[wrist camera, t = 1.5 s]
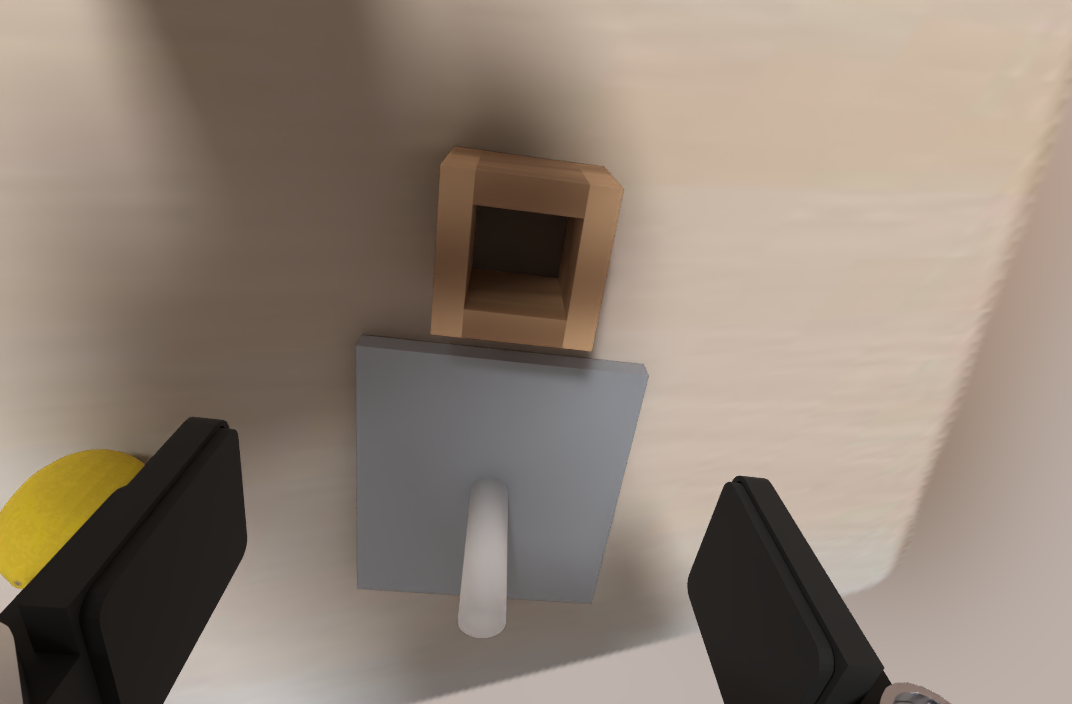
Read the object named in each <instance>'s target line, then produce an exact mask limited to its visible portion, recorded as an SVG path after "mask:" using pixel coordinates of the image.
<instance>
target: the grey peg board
mask: <svg viewBox="0 0 1072 704" xmlns="http://www.w3.org/2000/svg"><path fill="white" fill-rule="evenodd" d="M648 377H649V375H648V373H647V370H646V368H645V366H644V364H636V363H627V362H617V361H608V360H598V359H588V358H579V357H569V356H560V355H550V354H540V353H531V352H521V351H512V350H502V349H492V348H483V347H473V346H464V345H454V344H445V343H435V342H425V341H416V340H406V339H397V338H387V337H377V336H368V335H362V336H361V337H360V339H359V341H358V343H357V344H356V449H357V589H369V590H384V591H400V592H415V593H430V594H446V595H460V602H459V612H458V626H459V628H460V629H461V631H462V632H464V633H465V634H467V635H469V636H471V637H475V638H489V637H492V636H495V635H497V634H499V633H500V632H501V631H502V630H503V629H504V628H505V626H506V603H507V599H523V600H538V601H554V602H569V603H584V604H591V603H592V599H593V595H594V591H595V587H596V583H597V579H598V575H599V571H600V567H601V563H602V559H603V555H604V552H605V548H606V544H607V540H608V536H609V532H610V528H611V524H612V520H613V516H614V512H615V508H616V504H617V500H618V496H619V492H620V488H621V484H622V480H623V476H624V472H625V468H626V464H627V460H628V456H629V453H630V449H631V445H632V441H633V437H634V433H635V429H636V425H637V421H638V417H639V413H640V409H641V405H642V401H643V397H644V393H645V389H646V385H647V381H648Z"/></svg>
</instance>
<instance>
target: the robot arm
mask: <svg viewBox="0 0 1072 704" xmlns="http://www.w3.org/2000/svg"><path fill="white" fill-rule="evenodd" d="M246 545H247V530H246V518H245V507H244V496H243V485H242V473H241V462H240V451H239V439H238V433H237V431H236V430H234V429H229V426H228V424H227V422H226V421H224V420H218V419H208V418H199V417H190V418H188V419H187V420H186V421H185V422H184V423H183V424H182V425H181V426H180V427H179V428H178V429H177V431H176V432H175V433H174V434H173V435H172V436H171V437H170V438H169V439H168V440H167V442H166V443H165V444H164V445H163V446H162V447H161V448H160V449H159V450H158V451H157V453H156V454H155V455H154V456H153V457H152V458H151V459H150V460H149V461H148V462H147V463H146V465H145V466H144V467H143V468H142V469H141V470H140V471H139V472H138V473H137V474H136V476H135V477H134V478H133V479H132V480H131V481H130V482H129V483H128V484H127V485H126V486H123V487H120V488H118V489H117V490H116V491H115V492H113V493H112V494H111V495H110V496H109V497H108V498H107V499H106V500H105V502H104V503H103V504H102V505H101V506H100V507H99V508H98V509H97V510H96V511H95V512H94V513H93V514H92V516H91V517H90V518H89V519H88V520H87V521H86V522H85V523H84V524H83V525H82V526H81V527H80V528H79V530H78V531H77V532H76V533H75V534H74V535H73V536H72V537H71V538H70V539H69V540H68V541H67V542H66V544H65V545H64V546H63V547H62V548H61V549H60V550H59V551H58V552H57V553H56V554H55V555H54V556H53V558H52V559H51V560H50V561H49V562H48V563H47V564H46V565H45V566H44V567H43V568H42V569H41V570H40V572H39V573H38V574H37V575H36V576H35V577H34V578H33V579H32V580H31V581H30V582H29V583H28V584H27V586H26V587H25V588H24V589H23V590H22V591H21V592H20V593H19V594H18V595H17V596H16V597H15V598H14V600H13V601H12V602H11V603H10V604H9V605H8V606H7V607H6V608H5V609H4V610H3V611H2V612H1V614H0V704H163V703H164V701H165V699H166V698H167V696H168V694H169V692H170V690H171V688H172V687H173V685H174V683H175V681H176V679H177V677H178V675H179V674H180V672H181V670H182V668H183V666H184V664H185V663H186V661H187V659H188V657H189V655H190V653H191V652H192V650H193V648H194V646H195V644H196V642H197V641H198V639H199V637H200V635H201V633H202V631H203V630H204V628H205V626H206V624H207V622H208V620H209V619H210V617H211V615H212V613H213V611H214V609H215V608H216V606H217V604H218V602H219V600H220V598H221V596H222V595H223V593H224V591H225V589H226V587H227V585H228V584H229V582H230V580H231V578H232V576H233V574H234V573H235V571H236V569H237V567H238V565H239V563H240V562H241V560H242V558H243V555H244V553H245V549H246ZM687 588H688V595H689V598H690V601H691V604H692V607H693V610H694V614H695V617H696V620H697V623H698V626H699V629H700V632H701V635H702V638H703V641H704V644H705V647H706V650H707V653H708V656H709V659H710V662H711V665H712V668H713V671H714V674H715V677H716V680H717V683H718V686H719V689H720V692H721V695H722V698H723V701H724V704H951V703H949V702H948V701H947V700H945V699H944V698H943V697H941V696H940V695H938V694H936V693H934V692H932V691H930V690H928V689H926V688H924V687H922V686H918V685H915V684H911V683H894V684H891V682H890V681H889V679H888V677H887V676H886V674H885V672H884V671H883V669H884V666H883V665H882V663H881V661H880V660H879V658H878V657H877V655H876V653H875V652H874V650H873V649H872V647H871V645H870V644H869V642H868V641H867V639H866V637H865V635H864V634H863V632H862V631H861V629H860V627H859V626H858V624H857V622H856V621H855V619H854V617H853V616H852V614H851V613H850V612H849V609H848V608H847V606H846V605H845V603H844V601H843V600H842V598H841V596H840V595H839V593H838V591H837V590H836V588H835V587H834V585H833V583H832V582H831V580H830V578H829V577H828V575H827V574H826V572H825V570H824V569H823V567H822V565H821V564H820V562H819V561H818V559H817V557H816V556H815V554H814V552H813V551H812V549H811V547H810V546H809V544H808V543H807V541H806V539H805V538H804V536H803V534H802V533H801V531H800V530H799V528H798V526H797V525H796V523H795V521H794V520H793V518H792V517H791V515H790V513H789V512H788V510H787V508H786V507H785V505H784V504H783V502H782V500H781V499H780V497H779V495H778V494H777V492H776V491H775V489H774V487H773V486H772V484H771V483H770V482H769V480H767V479H765V478H756V477H747V476H736V477H735V478H734V479H733V481H732V482H727V483H726V484H725V485H724V487H723V489H722V492H721V495H720V497H719V500H718V502H717V505H716V507H715V510H714V512H713V515H712V518H711V520H710V523H709V525H708V528H707V530H706V533H705V536H704V538H703V541H702V543H701V546H700V548H699V551H698V553H697V556H696V559H695V561H694V564H693V566H692V569H691V571H690V574H689V577H688V583H687Z"/></svg>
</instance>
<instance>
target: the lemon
mask: <svg viewBox="0 0 1072 704" xmlns="http://www.w3.org/2000/svg"><path fill="white" fill-rule="evenodd" d="M144 466H145V464H143V463H142V462H141V461H140V460H138V459H137V458H135V457H133V456H131V455H129V454H126V453H123V452H119V451H114V450H108V449H102V450H86V451H82V452H78V453H74V454H70V455H67V456H65V457H63V458H61V459H59V460H57V461H55V462H53V463H51V464H49V465H48V466H46V467H44V468H42V469H41V470H39V471H38V472H37V473H35V474H34V475H33V476H31V477H30V478H29V479H28V480H27V481H26V482H25V483H24V484H23V485H22V486H21V487H20V488H19V489H18V490H17V491H16V493H15V494H14V495H13V496H12V497H11V498H10V499H9V501H8V502H7V503H6V505H5V506H4V507H3V509H2V510H1V512H0V573H1V575H2V576H3V577H4V578H5V579H6V580H8V581H9V582H10V584H11V585H12V586H14V587H16V588H19V589H24V588H25V587H26V586H27V584H28V583H29V582H30V581H31V580H32V579H33V578H34V577H35V576H36V575H37V574H38V573H39V572H40V570H41V569H42V568H43V567H44V566H45V565H46V564H47V563H48V562H49V561H50V560H51V559H52V558H53V556H54V555H55V554H56V553H57V552H58V551H59V550H60V549H61V548H62V547H63V546H64V545H65V544H66V542H67V541H68V540H69V539H70V538H71V537H72V536H73V535H74V534H75V533H76V532H77V531H78V530H79V528H80V527H81V526H82V525H83V524H84V523H85V522H86V521H87V520H88V519H89V518H90V517H91V516H92V514H93V513H94V512H95V511H96V510H97V509H98V508H99V507H100V506H101V505H102V504H103V503H104V502H105V500H106V499H107V498H108V497H109V496H110V495H111V494H112V493H113V492H115V491H116V490H117V489H118V488H120V487H123V486H126V485H127V484H128V483H129V482H130V481H131V480H132V479H133V478H134V477H135V476H136V474H137V473H138V472H139V471H140V470H141V469H142V468H143V467H144Z"/></svg>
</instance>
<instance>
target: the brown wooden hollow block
mask: <svg viewBox="0 0 1072 704" xmlns="http://www.w3.org/2000/svg"><path fill="white" fill-rule="evenodd" d="M623 191H624V189H623V187H622V186H621V185H620V184H619V183H618V182H617V181H616V180H615V179H614V177H613V176H612V175H611V174H610V173H609V172H608V171H607V170H606V168H605V167H603V166H596V165H588V164H581V163H573V162H566V161H559V160H551V159H544V158H536V157H529V156H522V155H514V154H507V153H500V152H492V151H485V150H477V149H470V148H463V147H455V146H454V147H453V148H452V150H451V151H450V152H449V154H448V155H447V156H446V158H445V159H444V160H443V162H442V163H441V164H440V178H439V195H438V213H437V230H436V248H435V265H434V283H433V301H432V318H431V334H432V335H441V336H451V337H460V338H469V339H479V340H488V341H498V342H507V343H517V344H526V345H536V346H545V347H555V348H564V349H574V350H583V351H592V348H593V343H594V338H595V333H596V328H597V323H598V318H599V313H600V308H601V303H602V297H603V292H604V287H605V282H606V277H607V272H608V267H609V262H610V257H611V252H612V247H613V242H614V237H615V232H616V227H617V222H618V217H619V212H620V206H621V201H622V196H623ZM478 205H480V206H488V207H496V208H504V209H511V210H519V211H527V212H535V213H543V214H551V215H559V216H567V217H568V218H567V225H566V231H565V237H564V244H563V250H562V256H561V263H560V269H559V275H558V278H553V277H545V276H536V275H528V274H519V273H510V272H502V271H493V270H485V269H476V268H472V266H473V255H474V243H475V232H476V221H477V209H478Z"/></svg>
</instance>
